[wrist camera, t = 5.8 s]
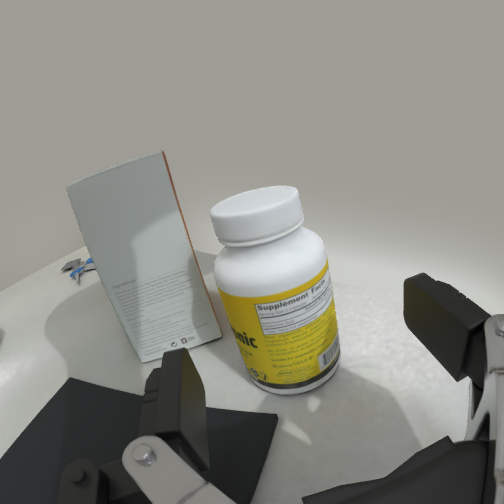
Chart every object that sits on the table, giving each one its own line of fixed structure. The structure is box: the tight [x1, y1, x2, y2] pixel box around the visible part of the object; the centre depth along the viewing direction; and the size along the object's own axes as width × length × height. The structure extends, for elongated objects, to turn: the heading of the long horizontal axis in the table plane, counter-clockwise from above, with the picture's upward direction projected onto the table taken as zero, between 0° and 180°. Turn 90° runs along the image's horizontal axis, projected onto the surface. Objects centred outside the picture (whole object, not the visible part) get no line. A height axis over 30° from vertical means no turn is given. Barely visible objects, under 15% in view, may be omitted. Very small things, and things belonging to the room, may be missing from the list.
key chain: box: [61, 258, 95, 282], centre depth 45 cm, size 14×8×1 cm, turn 47°
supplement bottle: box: [210, 186, 340, 395], centre depth 16 cm, size 5×5×10 cm
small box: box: [66, 150, 223, 363], centre depth 22 cm, size 8×6×13 cm
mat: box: [0, 377, 278, 504], centre depth 11 cm, size 16×14×1 cm
